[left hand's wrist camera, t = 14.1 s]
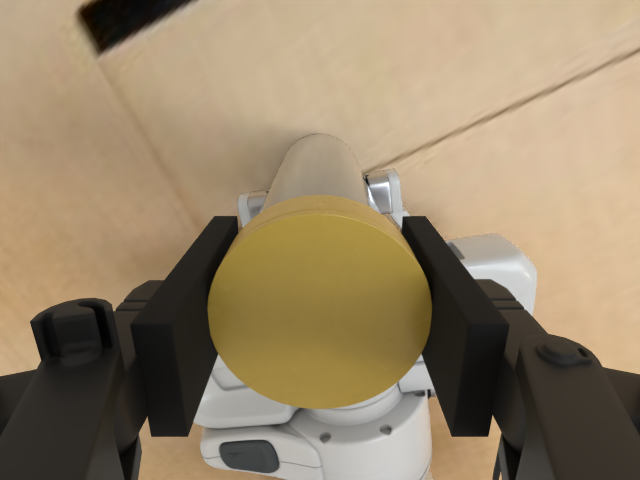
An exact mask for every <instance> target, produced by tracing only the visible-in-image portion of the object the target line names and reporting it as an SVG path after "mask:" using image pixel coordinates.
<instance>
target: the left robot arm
mask: <svg viewBox="0 0 640 480" xmlns="http://www.w3.org/2000/svg"><path fill="white" fill-rule="evenodd" d="M401 234H402V235H403V237H404V238H405V240H406V241H407V243H408V244H409V246H410V248H411V250H412V252H413V254H414V255H415V257H416V259H417V261H418V263H419V264H420V266H421V268H422V270H423V272H424V275H425V277H426V279H427V282H428V285H429V288H430V292H431V298H432V316H431V325H430V333H429V337H428V340H427V343H426V345H425V347H424V349H423V351H422V353H421V355H422V357H423V360H424V363H425V365H426V368H427V371H428V373H429V376H430V379H431V381H432V384H433V387H434V390H435V392H436V395H437V398H438V400H439V403H440V406H441V408H442V411H443V414H444V416H445V419H446V422H447V425H448V427H449V430H450V433H451V435H452V437H488V435H489V430H490V425H491V419H492V414H493V416H494V418H495V420H496V422H497V424H498V426H499V428H500V430H501V432H502V433H501V438H500V443H499V448H498V453H497V457H496V462H495V467H494V472H493V480H499V476H500V472H501V474H502V480H640V374H634V373H629V372H624V371H619V370H614V369H608V368H604V367H602V365H601V363H600V362H599V360H598V359H597V358H596V356H595V355H594V354H593V353H592V352H591V351H590V350H588V349H587V348H585V347H584V346H582V345H581V344H579V343H576V342H574V341H572V340H569V339H567V338H564V337H560V336H555V335H551V334H548V333H547V332H546V331H545V330H544V329H543V328H542V327H541V326H540V324H539V323H538V322H537V321H536V320H535V319H534V318H533V317H532V316H531V314H530V313H529V312H528V311H527V310H524V307H523V306H522V304H521V303H520V302H519V301H516V298H515V297H514V296H513V295H512V293H511V292H510V291H509V290H508V289H507V288H506V287H504V286H502V285H500V284H499V283H497V282H495V281H493V280H492V279H474V278H473V277H472V275H471V274H470V273H469V272H468V270H467V269H466V268H465V267H464V265H463V264H462V263H461V261H460V260H459V259H458V258H457V256H456V255H455V254H454V252H453V251H452V250H451V249H450V247H449V246H448V245H447V243H446V242H445V241H444V240H443V238H442V237H441V236H440V234H439V233H438V232H437V231H436V229H435V228H434V227H433V226H432V224H431V223H430V222H429V220H428V219H427V218H426V217H425V216H403V217H402V231H401ZM237 235H238V221H237V216H214V217H213V219H212V220H211V221H210V223H209V224H208V225H207V226H206V228H205V229H204V230H203V232H202V233H201V234H200V235H199V237H198V238H197V239H196V241H195V242H194V243H193V244H192V246H191V247H190V248H189V249H188V251H187V252H186V253H185V255H184V256H183V257H182V258H181V260H180V261H179V262H178V264H177V265H176V266H175V267H174V269H173V270H172V271H171V273H170V274H169V275H168V276H167V278H166V279H165V280H149V281H147V282H146V283H144V284H142V285H140V286H139V287H137V288H135V289H133V290H132V292H131V293H130V294H129V295H128V296H127V297H126V298H125V299H124V302H122V303H121V304H120V305H119V306H118V307H117V308H116V311H114V312H113V308H112V304H110V303H109V302H108V301H106V300H102V299H97V298H84V299H77V300H72V301H67V302H63V303H61V304H58V305H55V306H52V307H50V308H48V309H46V310H44V311H42V312H41V313H39V314H37V315H36V316H35V317H34V318H33V319H32V320H31V321H30V324H31V327H32V330H33V334H34V337H35V340H36V344H37V347H38V351H39V354H40V357H41V362H40V364H39V366H38V368H37V369H35V370H31V371H26V372H21V373H16V374H11V375H5V376H0V480H138V475H139V468H140V461H141V454H142V450H141V443H140V438H139V431H140V429H141V427H142V426H143V424H144V422H145V420H146V418H147V416H148V421H149V426H150V431H151V436H152V437H188V435H189V432H190V429H191V427H192V424H193V421H194V418H195V416H196V413H197V410H198V408H199V405H200V402H201V400H202V397H203V394H204V392H205V389H206V386H207V383H208V381H209V378H210V375H211V373H212V370H213V367H214V365H215V362H216V359H217V357H218V352H217V350H216V348H215V346H214V343H213V341H212V338H211V335H210V328H209V320H208V310H207V304H208V295H209V291H210V287H211V283H212V281H213V279H214V276H215V274H216V271H217V270H218V268H219V266H220V264H221V262H222V260H223V259H224V257H225V255H226V253H227V251H228V249H229V247H230V246H231V244H232V242H233V241H234V239H235V237H236V236H237Z"/></svg>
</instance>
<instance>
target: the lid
mask: <svg viewBox="0 0 640 480" xmlns="http://www.w3.org/2000/svg"><path fill="white" fill-rule="evenodd" d="M207 310H208V320H209V328H210V335H211V338H212V341H213V343H214V346H215V348H216V350H217V352H218V354H219V356H220V358H221V359H222V361H223V362H224V363H225V365H226V366H227V367H228V369H229V370H230V371H231V372H232V373H233V374H234V375H235V376H236V377H237V378H238V379H239V380H240V381H241V382H243V383H244V384H245V385H246V386H248V387H249V388H251V389H252V390H254V391H255V392H257V393H259V394H261V395H263V396H265V397H267V398H269V399H271V400H274V401H277V402H279V403H282V404H286V405H290V406H294V407H300V408H307V409H331V408H339V407H345V406H350V405H354V404H357V403H361V402H363V401H366V400H368V399H371V398H373V397H375V396H377V395H379V394H381V393H382V392H384V391H386V390H387V389H389V388H390V387H392V386H393V385H395V384H396V383H397V382H398V381H399V380H400V379H402V378H403V377H404V376H405V375H406V374H407V373H408V371H409V370H410V369H411V368H412V367H413V366H414V364H415V363H416V361H417V360H418V358H419V357H420V355H421V353H422V351H423V349H424V347H425V345H426V343H427V340H428V337H429V333H430V325H431V316H432V298H431V292H430V288H429V285H428V282H427V279H426V277H425V275H424V272H423V270H422V268H421V266H420V264H419V263H418V261H417V259H416V257H415V255H414V254H413V252H412V250H411V248H410V246H409V244H408V243H407V241H406V240H405V238H404V237H403V235H402V234H401V232H400V231H399V230H398V229H397V228H396V227H395V226H394V224H393V223H392V222H390V221H389V220H388V219H387V218H386V217H384V216H383V215H382V214H380V213H379V212H377V211H376V210H374V209H373V208H371V207H369V206H367V205H364V204H362V203H360V202H358V201H354V200H351V199H348V198H344V197H338V196H333V195H309V196H301V197H296V198H292V199H288V200H285V201H283V202H280V203H277V204H275V205H273V206H271V207H269V208H267V209H265V210H264V211H262V212H261V213H259V214H258V215H256V216H255V217H254V218H253V219H252V220H250V221H249V222H248V223H247V224H246V225H245V226H244V227H243V228H242V230H241V231H240V232H239V233H238V235H237V236H236V237H235V239H234V241H233V242H232V244H231V246H230V247H229V249H228V251H227V253H226V255H225V257H224V259H223V260H222V262H221V264H220V266H219V268H218V270H217V271H216V274H215V276H214V279H213V281H212V283H211V287H210V291H209V295H208V304H207Z"/></svg>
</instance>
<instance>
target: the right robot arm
mask: <svg viewBox="0 0 640 480" xmlns="http://www.w3.org/2000/svg"><path fill="white" fill-rule="evenodd" d="M365 180H366V182H367V184H368V186H369V188H370V191H371V193H372V195H373V197H374V199H375V201H376V204H377V206H378V208H379V210H380V212H381V214H386V213H389V214H390V215H391V216H392V218H393V219H394V220H395V222H396V223H397V224H398V225H399V227H400V228H401V229H402V217H403V216H410V215H409V213H408V212H407V211H406V209H405V208H404V207H403V206H402V198H401V188H400V180H399V176H398V173H397V172H396V170H395V169H388V170H382V171H376V172H371V173H365ZM268 192H269V189H268V190H261V191H255V192H247V193H242V194H241V195H240V196H239V198H238V203H237V204H238V211H239V215H240V219H241V223H242V227H244V226H245V225H246V224H247V223H248V222H249V221H250V220H252V219H253V218H254V217H255V216H256V215H258V213H259V211H260V209H261V207H262V205H263V203H264V200H265V198H266V196H267V194H268ZM401 231H402V230H401ZM401 231H400V232H401ZM445 242H446V243H447V245H448V246H449V247H450V249H451V250H452V251H453V252H454V254H455V255H456V256H457V258H458V259H459V260H460V261H461V263H462V264H463V265H464V267H465V268H466V269H467V270H468V272H469V273H470V274H471V275H472V277H473V278H474V279H492V280H493V281H495V282H497V283H499V284H500V285H502V286H504V287H506V288H507V289H508V290H509V291H510V292H511V293H512V295H513V296H514V297H515V298H516V301H519V302H520V303H521V304H522V306H523V307H524V310H527V311H528V312H529V313H530V314H531V316H533V310H534V304H535V296H536V287H537V271H536V267H535V265H534V264H533V262H532V261H531V260H530V258H529V257H528V256H527V255H526V254H525V253H524V252H523V251H522V250H521V249H520V248H518V247H517V246H516V245H515V244H513V243H512V242H510V241H509V240H508V239H506V238H505V237H503V236H502V235H500V234H485V235H479V236H472V237H466V238H459V239H453V240H446V241H445ZM433 396H434V397H435V396H437V395H436V392H435V390H434V387H433V384H432V381H431V379H430V376H429V373H428V371H427V368H426V365H425V363H424V360H423V357H422V355H420V357H419V358H418V360H417V361H416V363H415V364H414V366H413V367H412V368H411V369H410V370H409V371H408V373H407V374H406V375H405V376H404V377H403V378H402V379H400V380H399V381H398V382H397V383H396V384H395V385H393V386H392V387H390V388H389V389H387V390H386V391H384V392H382V393H381V394H379V395H377V396H375V397H373V398H371V399H368V400H366V401H363V402H361V403H357V404H354V405H350V406H345V407H339V408H331V409H307V408H300V407H294V406H290V405H286V404H282V403H279V402H277V401H274V400H271V399H269V398H267V397H265V396H263V395H261V394H259V393H257V392H255V391H254V390H252V389H251V388H249V387H248V386H246V385H245V384H244V383H243V382H241V381H240V380H239V379H238V378H237V377H236V376H235V375H234V374H233V373H232V372H231V371H230V370H229V369H228V367H227V366H226V365H225V363H224V362H223V361H222V359H221V358H220V356H219V354H218V357H217V359H216V362H215V365H214V367H213V370H212V373H211V375H210V378H209V381H208V383H207V386H206V389H205V392H204V394H203V397H202V400H201V402H200V405H199V408H198V410H197V413H196V416H195V418H194V421H193V423H195V424H197V425H200V426H203V430H202V436H201V441H200V451H201V454H202V457H203V459H204V461H205V462H206V463H207V464H208V465H209V466H211V467H214V468H218V469H224V470H233V471H242V472H249V473H256V474H262V475H267V476H272V477H277V478H281V479H285V480H434V479H433V476H432V473H431V471H430V466H431V461H432V436H431V425H430V414H429V405H428V399H429V397H433Z"/></svg>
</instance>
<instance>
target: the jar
mask: <svg viewBox="0 0 640 480" xmlns="http://www.w3.org/2000/svg"><path fill="white" fill-rule="evenodd" d="M309 195H333V196H338V197H344V198H348V199H351V200H354V201H358V202H360V203H362V204H364V205H367V206H369V207H371V208H373V209H374V210H376V211H377V212H379V213H380V214H381V212H380V210H379V208H378V206H377V204H376V201H375V199H374V197H373V195H372V193H371V191H370V188H369V186H368V184H367V182H366V180H365V178H364V176H363V173H362V171H361V169H360V167H359V165H358V163H357V161H356V158H355V156H354V154H353V153H352V151H351V150H350V148H349V147H348V146H347V145H346V144H345V143H344V142H342V141H341V140H339V139H338V138H335V137H333V136H330V135H325V134H314V135H309V136H306V137H304V138H302V139H300V140H299V141H297V142H296V143H295V144H293V145H292V146H291V148H290V149H289V150H288V152H287V153H286V155H285V157H284V159H283V162H282V164H281V166H280V168H279V170H278V172H277V174H276V177H275V179H274V181H273V183H272V185H271V187H270V190H269V192H268V194H267V196H266V198H265V200H264V203H263V205H262V207H261V209H260V211H259V213H261V212H262V211H264V210H265V209H267V208H269V207H271V206H273V205H275V204H277V203H280V202H283V201H285V200H288V199H292V198H296V197H301V196H309ZM259 213H258V214H259Z"/></svg>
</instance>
